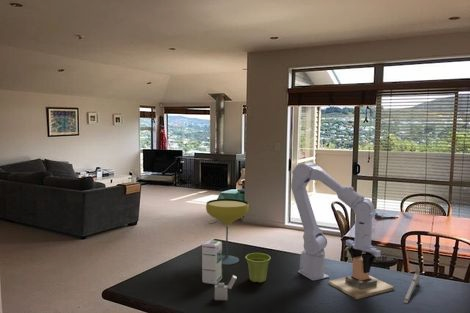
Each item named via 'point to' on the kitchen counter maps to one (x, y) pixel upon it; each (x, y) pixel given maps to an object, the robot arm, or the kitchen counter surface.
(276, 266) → the kitchen counter surface
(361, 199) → the robot arm
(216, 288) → the lighter
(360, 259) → the orange wooden block
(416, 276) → the caliper
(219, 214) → the cocktail glass
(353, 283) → the dock
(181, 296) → the kitchen counter surface
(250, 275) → the plant pot
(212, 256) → the syrup box
